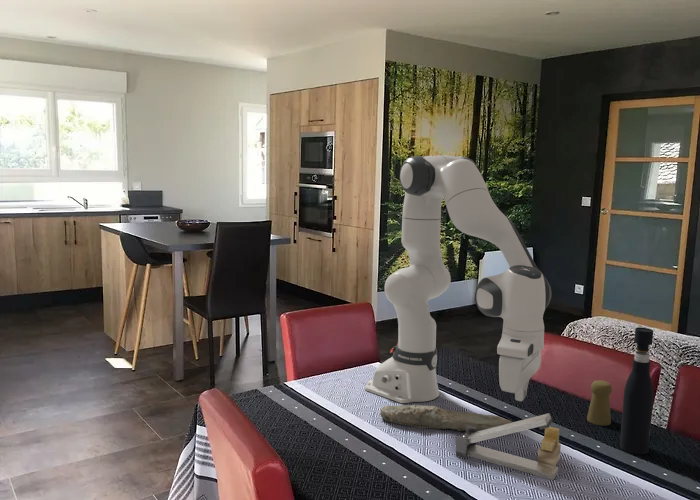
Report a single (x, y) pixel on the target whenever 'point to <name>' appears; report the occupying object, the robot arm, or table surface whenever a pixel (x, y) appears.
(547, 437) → the tan l-shaped block
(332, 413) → the table surface
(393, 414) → the elongated rock
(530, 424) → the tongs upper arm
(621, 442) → the wine bottle
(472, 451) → the base
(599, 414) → the cork
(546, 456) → the tan wooden block
